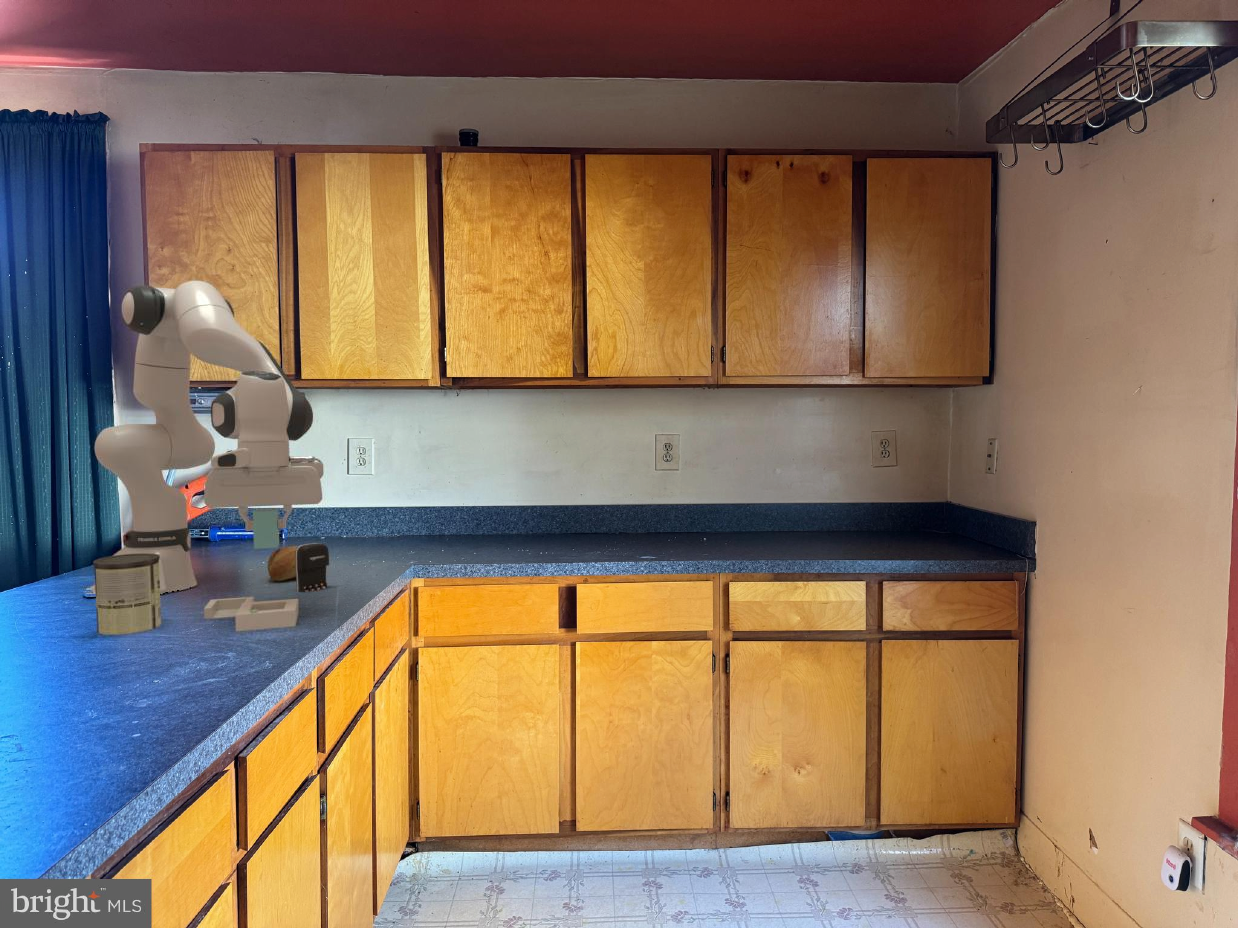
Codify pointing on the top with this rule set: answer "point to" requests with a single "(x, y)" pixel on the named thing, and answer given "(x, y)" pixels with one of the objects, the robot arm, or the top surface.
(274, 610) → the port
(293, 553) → the bread roll
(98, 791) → the top surface
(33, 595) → the top surface
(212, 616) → the holster
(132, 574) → the coffee can
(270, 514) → the plug
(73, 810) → the top surface
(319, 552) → the battery
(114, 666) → the top surface
